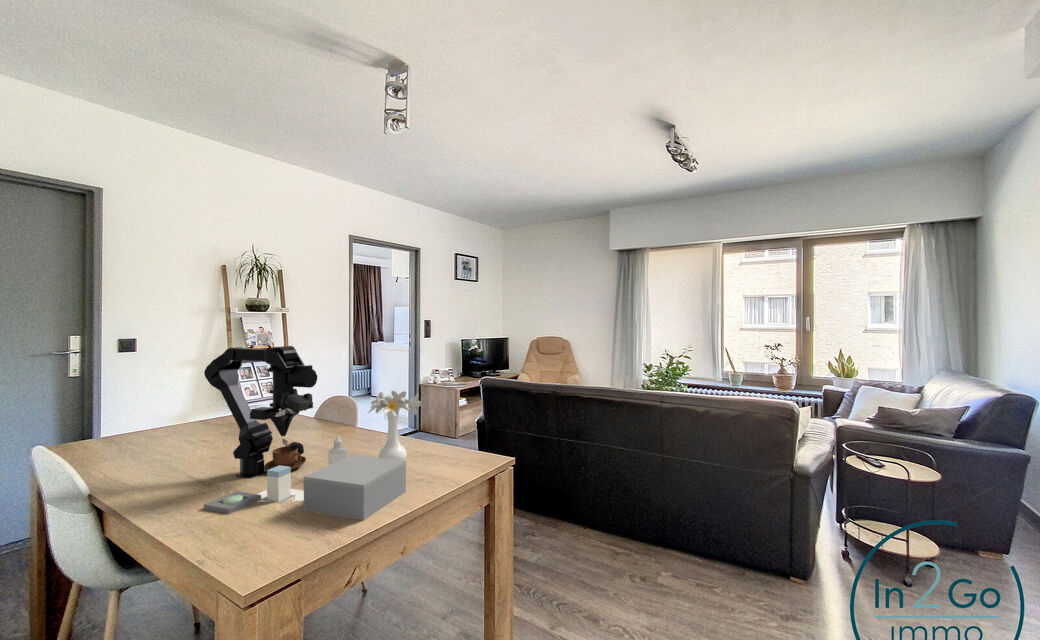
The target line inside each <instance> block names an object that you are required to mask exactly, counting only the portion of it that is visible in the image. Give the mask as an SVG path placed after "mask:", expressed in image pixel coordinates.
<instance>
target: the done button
mask: <svg viewBox="0 0 1040 640" xmlns="http://www.w3.org/2000/svg"><path fill="white" fill-rule="evenodd" d="M241 500H243V496H242V495H234V496H229V497H227V498H225V499H224V500H223V504H229V505H232V504H234V503H237V502H239V501H241Z"/></svg>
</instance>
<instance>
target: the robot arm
mask: <svg viewBox="0 0 1040 640" xmlns="http://www.w3.org/2000/svg"><path fill="white" fill-rule="evenodd" d="M243 361H254V362H255V361H256V362H257V361H258V362H264V363H266V364H267V365H268V364H269V365H271V366H269V368H267V369H266V372H268V373H272V389H270V390H269V394H272V402H270V403H269V407H267V406H261V407H257V408H256V407H255V408H252V409H251V408H250V406H249V403H248V402H247V400H246V397H245V396H244V394H243V392H242V390H241V388H240V386H239V384H238V383H239V377H240V376H239V370H240V368H241V367H242V365H243ZM203 373H204V377H205V378H206V380H207V382H208V383H209V385H210V386H211V387H214V388H216V390H219V392H220V394H221V395H222V397H223V399H224V400H225V402H226V404H227V406H228V409H229V411H230V413H231V415H232V416H233V418H234V420H235V422H236V424H237V426H238V428H239V434H238V441H239V444H238V446H237V447H236V448H235V449H234V450H233V451H232V454H233V457H234V459H237V460H239V472H238V473H236V474H235V477H238V478H245V479H253V478H255V477H258V476H261V475H263V474H267V469H265V459H264V458H265V454H264V453H266V452H267V453H268V452H269V451H270V448H271V445H272V442H273V439H274V438H273V435H272V434H273V432H272V431H271V429H270V428H269V425H268V424H267V423H266V422H263V423H260V422H259V421H267V420H271V422H272V423H273V424H274V426H275V428H276V429H277V432H278V433H279V435H280V436H281V437H286V435H287V433H288V430H289V428H290V425H291V423H292V420H293V418H294V417H295V416H297V415H298V414H300V412H303V411H307V410H310V409H313V408H314V401H313V394H312V393H309V392H308V393H304V394H301V395H300V394H298V390H297V388H314V387H315V386H316V385H317V382H318V375H317V374H318V373H317V372H316V371H315V369H313V365H311V364H309V365H305V363H304V361H303V359H302V358H301V357H300V355H299V354H298V352H297V349H296V348H295V346H292V345H285V346H273V347H267V348H251V347H250V348H249V347H242V346H238V347H229V348H227V349H226V350H225V351H224V352H223V353H222V354H220V355H219V356H217V357H216V358H215V359H212V361H211V362H210V363H209V364H207V365H206V368H205V369H204V372H203ZM258 420H259V421H258Z"/></svg>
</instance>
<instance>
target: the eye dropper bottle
mask: <svg viewBox="0 0 1040 640" xmlns="http://www.w3.org/2000/svg"><path fill="white" fill-rule="evenodd" d="M333 444H334V445H333V447H332V448H331V449H329V450H328V465H331V464H333V463H335V462H337V461H340V460H342V459H344V458H346V457H348V456H349V455H348V454H349V453H348V452H349V451H348V450H349V449H348V448H346V447H345V446H344V447H343V440H342V439H341V438H340V435H337V436H336V439H335V440H333Z"/></svg>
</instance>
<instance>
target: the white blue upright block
mask: <svg viewBox="0 0 1040 640" xmlns="http://www.w3.org/2000/svg"><path fill="white" fill-rule="evenodd" d="M266 470H267V469H266ZM291 471H292V470H291V467H288V466H281V465H279V466H277V467H274V468H271V469H269V470H267V472H266V475H267V476H266V486H267V487H266V490H267V499H268V500H274V501H280V500H282V499H284V498H286V497H289V496H291V489H292V487H291V486H292V485H291V484H292V483H291V481H292V480H291V475H292V472H291Z"/></svg>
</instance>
